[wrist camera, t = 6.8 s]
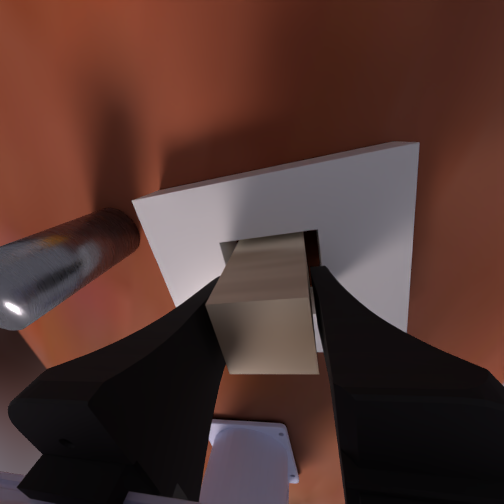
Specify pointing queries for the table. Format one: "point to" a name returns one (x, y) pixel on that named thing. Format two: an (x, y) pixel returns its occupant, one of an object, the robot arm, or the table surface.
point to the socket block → (298, 222)
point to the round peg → (60, 263)
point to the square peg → (265, 308)
